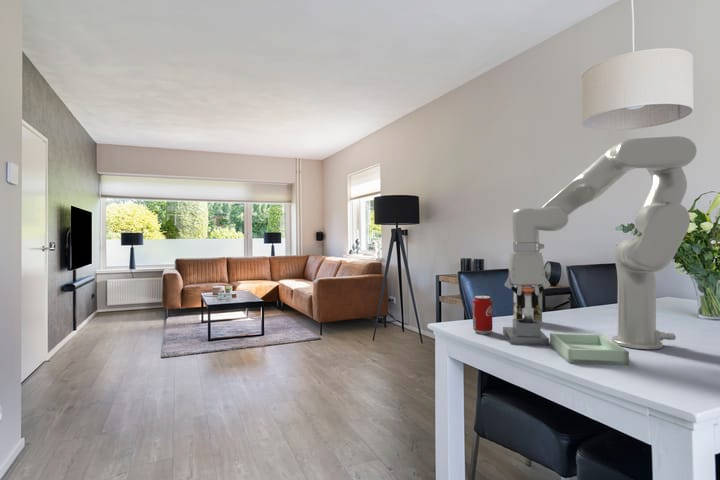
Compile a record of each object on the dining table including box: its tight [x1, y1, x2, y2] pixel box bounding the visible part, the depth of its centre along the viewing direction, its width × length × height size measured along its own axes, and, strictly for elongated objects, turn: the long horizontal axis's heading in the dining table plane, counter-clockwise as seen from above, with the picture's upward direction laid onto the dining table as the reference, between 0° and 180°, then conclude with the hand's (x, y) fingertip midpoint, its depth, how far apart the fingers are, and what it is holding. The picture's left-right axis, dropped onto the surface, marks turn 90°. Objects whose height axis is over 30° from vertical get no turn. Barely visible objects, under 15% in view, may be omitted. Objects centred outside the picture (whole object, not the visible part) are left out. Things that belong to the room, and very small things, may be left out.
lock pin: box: [521, 287, 535, 323], centre depth 130 cm, size 4×4×12 cm
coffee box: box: [512, 285, 543, 325], centre depth 157 cm, size 9×6×16 cm
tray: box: [549, 332, 630, 366], centre depth 115 cm, size 14×18×4 cm
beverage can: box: [472, 295, 493, 335], centre depth 142 cm, size 6×6×12 cm
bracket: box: [502, 318, 550, 346], centre depth 133 cm, size 11×14×6 cm
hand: (527, 307), depth 130 cm, fingers closed on lock pin, 3 cm apart
